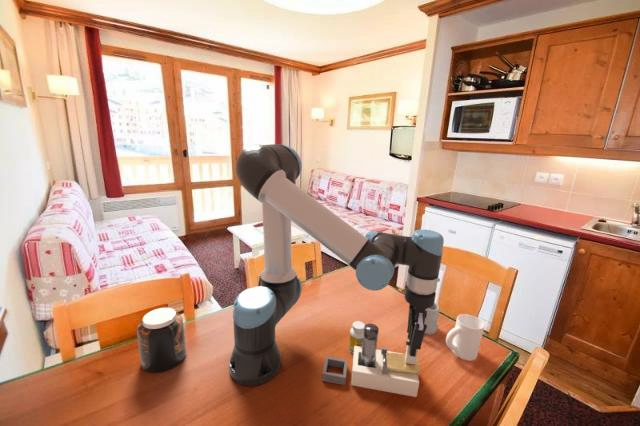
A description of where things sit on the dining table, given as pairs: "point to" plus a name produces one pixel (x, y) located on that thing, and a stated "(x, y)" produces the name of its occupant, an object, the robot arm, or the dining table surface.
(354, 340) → the supplement bottle
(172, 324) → the jar
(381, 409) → the dining table surface
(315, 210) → the robot arm
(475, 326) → the mug
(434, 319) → the mug
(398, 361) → the brass flap
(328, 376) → the stand collar
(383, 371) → the socket block
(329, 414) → the dining table surface
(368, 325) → the steel pin
